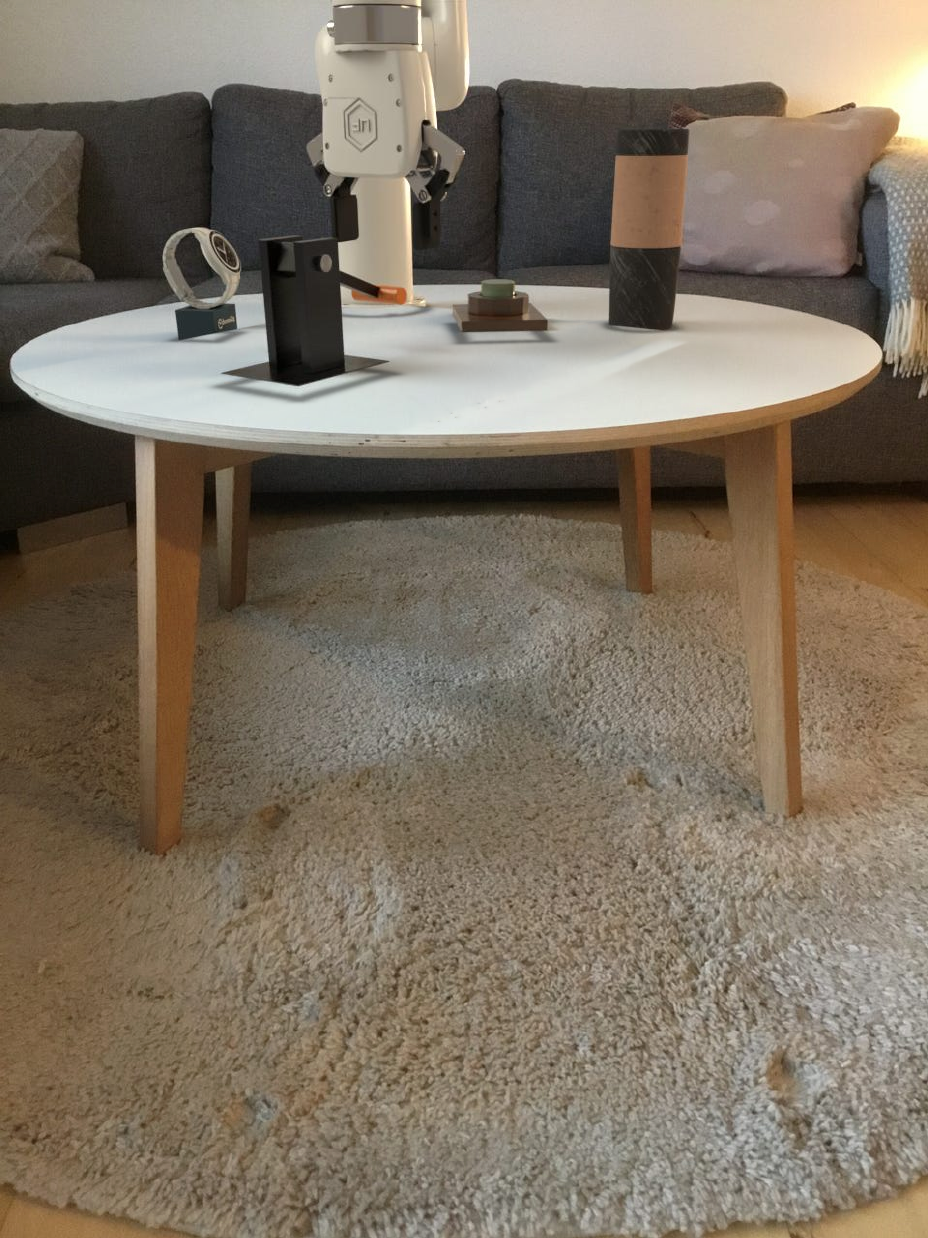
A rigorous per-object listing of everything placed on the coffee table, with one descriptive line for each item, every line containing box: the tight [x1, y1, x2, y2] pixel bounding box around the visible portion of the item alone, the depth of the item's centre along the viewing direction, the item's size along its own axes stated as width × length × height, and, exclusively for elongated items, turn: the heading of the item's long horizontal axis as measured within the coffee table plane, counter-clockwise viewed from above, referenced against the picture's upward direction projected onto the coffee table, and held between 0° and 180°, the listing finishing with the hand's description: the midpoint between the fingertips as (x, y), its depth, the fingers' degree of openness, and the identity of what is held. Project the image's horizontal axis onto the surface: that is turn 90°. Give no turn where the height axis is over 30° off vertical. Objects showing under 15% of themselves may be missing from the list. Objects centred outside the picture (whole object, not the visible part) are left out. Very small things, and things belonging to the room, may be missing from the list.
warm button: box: [480, 278, 516, 297], centre depth 109 cm, size 4×4×2 cm
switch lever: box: [277, 242, 407, 305], centre depth 90 cm, size 13×6×2 cm, turn 145°
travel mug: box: [608, 128, 690, 331], centre depth 109 cm, size 8×8×20 cm
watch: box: [162, 227, 242, 341], centre depth 107 cm, size 6×8×11 cm
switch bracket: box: [220, 235, 390, 387], centre depth 87 cm, size 12×9×12 cm
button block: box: [451, 290, 549, 333], centre depth 110 cm, size 12×9×4 cm
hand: (385, 244), depth 94 cm, fingers open, 9 cm apart
